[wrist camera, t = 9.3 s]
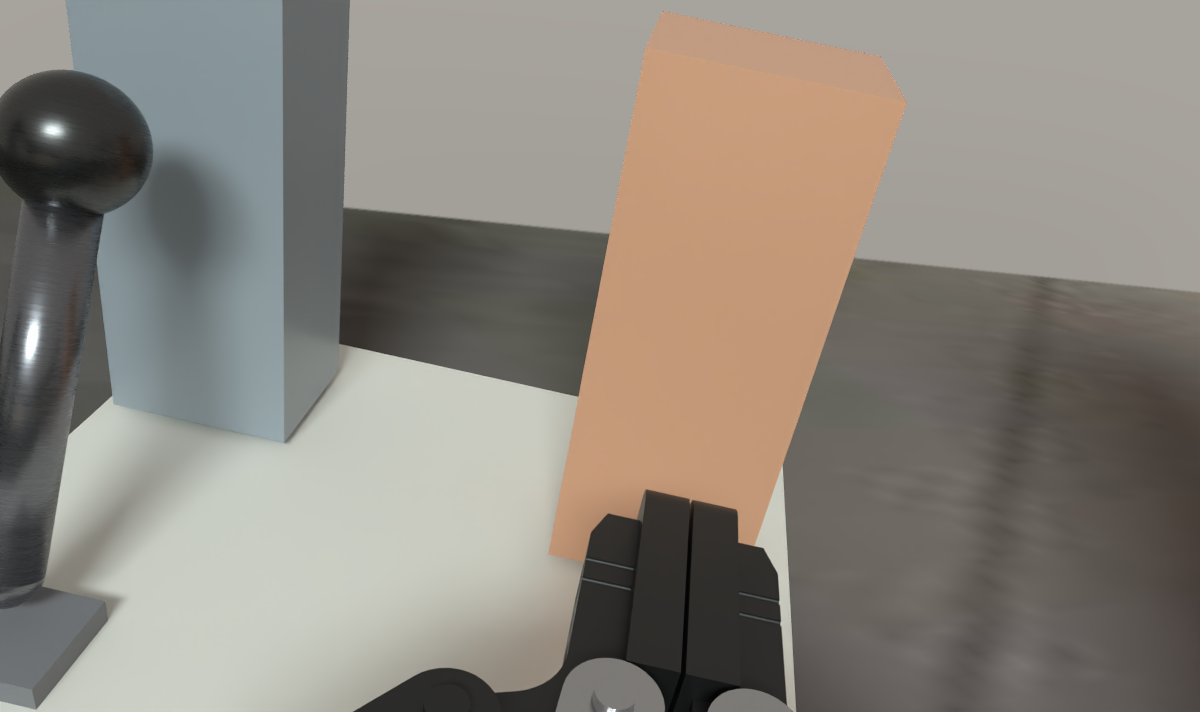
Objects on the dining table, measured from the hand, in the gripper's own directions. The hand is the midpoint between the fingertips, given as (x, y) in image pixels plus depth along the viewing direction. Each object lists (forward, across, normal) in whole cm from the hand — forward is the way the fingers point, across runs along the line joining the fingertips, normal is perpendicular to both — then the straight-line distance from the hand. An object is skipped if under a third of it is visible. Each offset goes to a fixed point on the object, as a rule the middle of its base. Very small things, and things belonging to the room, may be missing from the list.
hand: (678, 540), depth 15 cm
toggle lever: (+1, -13, -7) cm, 14 cm away
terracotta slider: (+8, 0, -7) cm, 11 cm away
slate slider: (+11, -13, -7) cm, 18 cm away
